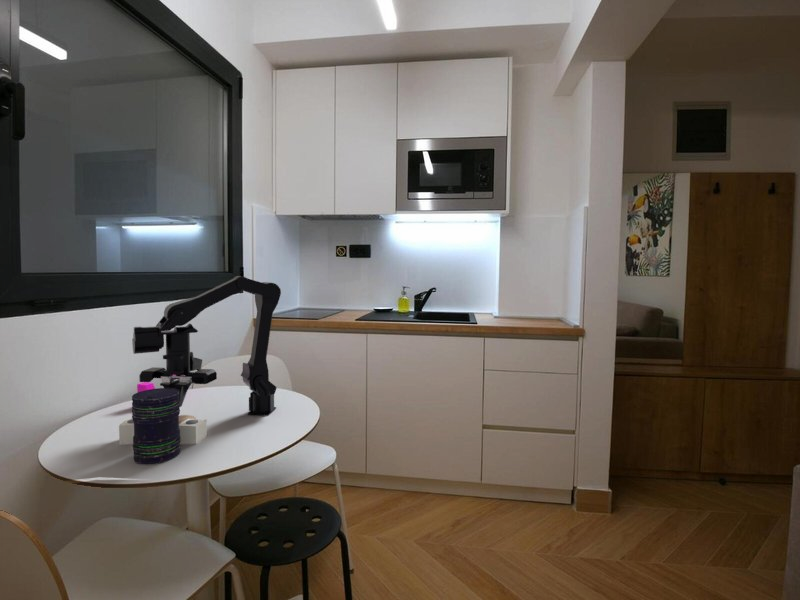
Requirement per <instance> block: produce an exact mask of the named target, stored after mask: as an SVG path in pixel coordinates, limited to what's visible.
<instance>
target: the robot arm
mask: <svg viewBox="0 0 800 600" xmlns="http://www.w3.org/2000/svg"><path fill="white" fill-rule="evenodd" d="M241 291H243V292H246V293H249V294H251V295H254V303H255V307H256V317H255V324H254V330H253V331H254V332H253V340H252V347H251V353H250V357H249V359H248V362H243V363H242V371H241V374H240V377H242V382H243V383H244V384H245V385H246V386H247V387H248V388H249V389H250V391H251V392H250V393H249V394H250V397H248V411H249V412H247V415H248V416H249V415H250V416H252V415H253V416H270V415H271V414H272V413H273V412H274V411H276V409H277V407H276V406H275V394H276V391H277V386H276V385H275V384H274V383H272V382H271V381H270V379H269V378H270V377H269V376H270V375H269V373H270V372H269V371H270V370H269V366H268V362H267V356H268V350H269V349H268V348H269V342H270V335H271V328H272V319H273V313H274V312H275V310H276V308H277V306H278V304H279V301H280V298H281V293H282V290H281V288H280V286H279V284H277V283H274V282H269V281H268V282H266V281H265V282H263V281H262V282H260V281H258V280H254V279H250V278H247V277H246V276H243V275H242V276H241V275H237V276H234V277H233V278H232V279H230V280H227V281H226V282H223V283H221V284H219V285H217V286H215V287H214V288H212V289H211V288H210V289H209V290H207V291H205V292H202V293H200V294H199V295H197V296H193V297H190V298H187V299H182V300H177V301H175V302H172V303H169V304H167V306H165V308H164V311H163V316H162V318H161V319H160V320H159V321H158V323H157V324H156V325H155V326H134V327H133V333H132V334H133V336H132V352H133V354H134V355H137V354H147V353H157V352H160V350H161V349H163V348H164V346H165V354H164V355H162V359H163V360H166V361H165V362H166V363H165V365H166V366H165V367H166V368H165V367H154V366H153V367H150V368H146V369H144V370H142V371H141V372H140V373H139V378H138V379H139V381H138V382H139V383H144V382H147V383H152V381H153V380H154V379H161V383H159V386H162V388H174V389H178V390H179V401H180V408H181V407H182V406H183V405H184V404H183V403H184V401H185V398H186V395H187V393H188V391H189V388H190V386H191V385H192V384H194V385H207V384H209V383H212V382H214V381H216V380H217V378H218V377H217V372H216V370H215V369H211V368H202V365H203V359H202V358H198V357H195V356H194V353H193V351H191V345H190V344H191V342H190V341H191V340H190V339H191V338H190V337H191V336H190V335H191V334H193V333H196V334H197V333H198V332H199V330H198V329H197V328H196V327H194V326H193V324H192V323H190V322H191V321H192V320H193V319H195V318H196V317H198V315H200V313H201V312H203V311H204V310H205V309H208V308H209V307H212V306H213V305H215V304H217V303H219V302H221V301H223V300H226V299H227V298H230V297H231V296H233V295H236V294H237V293H239V292H241ZM172 329H173V330H172ZM164 335H165V336H164ZM175 375H176V376H175ZM181 375H184V376H181Z"/></svg>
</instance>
